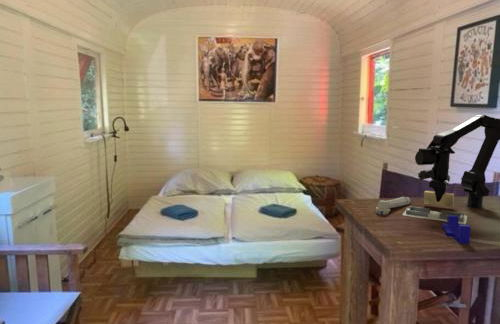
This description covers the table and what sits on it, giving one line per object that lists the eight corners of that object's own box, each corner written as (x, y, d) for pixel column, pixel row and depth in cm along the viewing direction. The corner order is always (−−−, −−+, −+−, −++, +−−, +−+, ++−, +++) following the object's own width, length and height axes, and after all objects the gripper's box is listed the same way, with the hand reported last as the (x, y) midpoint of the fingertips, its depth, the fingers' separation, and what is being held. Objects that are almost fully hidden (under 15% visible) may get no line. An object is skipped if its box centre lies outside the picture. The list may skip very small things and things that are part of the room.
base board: (407, 209, 159) (407, 207, 159) (467, 218, 148) (467, 215, 147) (401, 217, 149) (402, 215, 149) (465, 226, 138) (465, 224, 137)
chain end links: (409, 209, 156) (409, 206, 156) (464, 216, 146) (464, 213, 146) (405, 213, 151) (406, 210, 150) (463, 221, 140) (463, 218, 140)
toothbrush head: (413, 197, 165) (386, 200, 148) (411, 212, 166) (384, 216, 148) (401, 195, 169) (374, 197, 152) (399, 209, 169) (372, 214, 152)
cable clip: (441, 231, 134) (443, 214, 133) (455, 231, 133) (456, 215, 132) (454, 243, 122) (455, 225, 121) (469, 244, 122) (470, 226, 121)
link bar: (424, 201, 163) (425, 190, 162) (453, 205, 157) (454, 193, 156) (423, 203, 161) (424, 191, 160) (452, 207, 155) (453, 195, 154)
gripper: (423, 159, 168) (421, 193, 171) (416, 166, 153) (414, 203, 155) (451, 161, 162) (448, 196, 165) (447, 168, 147) (444, 207, 149)
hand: (438, 200), depth 159 cm, fingers closed on link bar, 3 cm apart
